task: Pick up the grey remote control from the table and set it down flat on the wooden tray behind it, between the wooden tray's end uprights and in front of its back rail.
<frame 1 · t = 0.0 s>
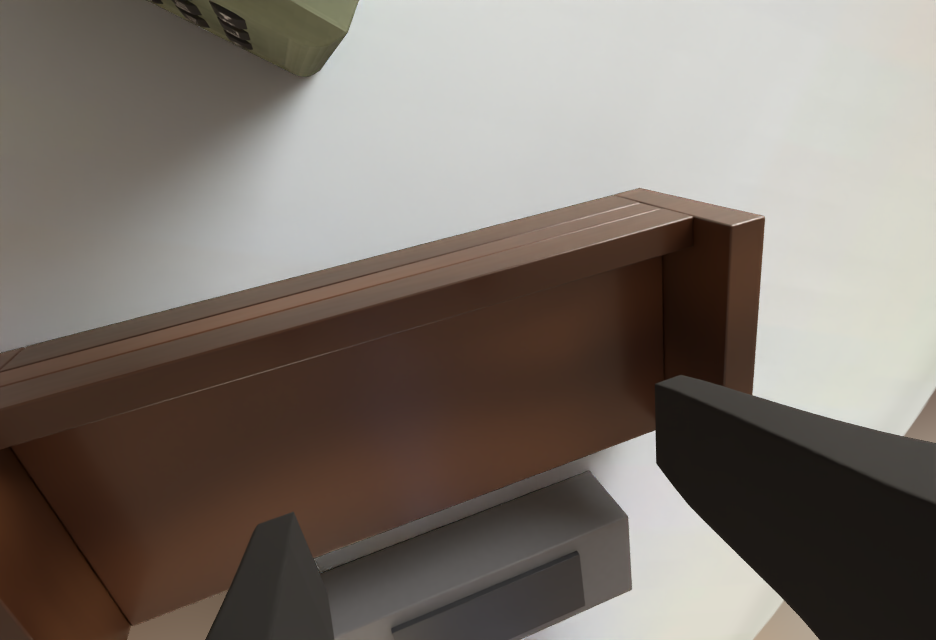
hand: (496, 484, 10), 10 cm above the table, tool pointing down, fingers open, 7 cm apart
remote: (439, 567, 24), on the table
wooden tray: (385, 373, 20), on the table
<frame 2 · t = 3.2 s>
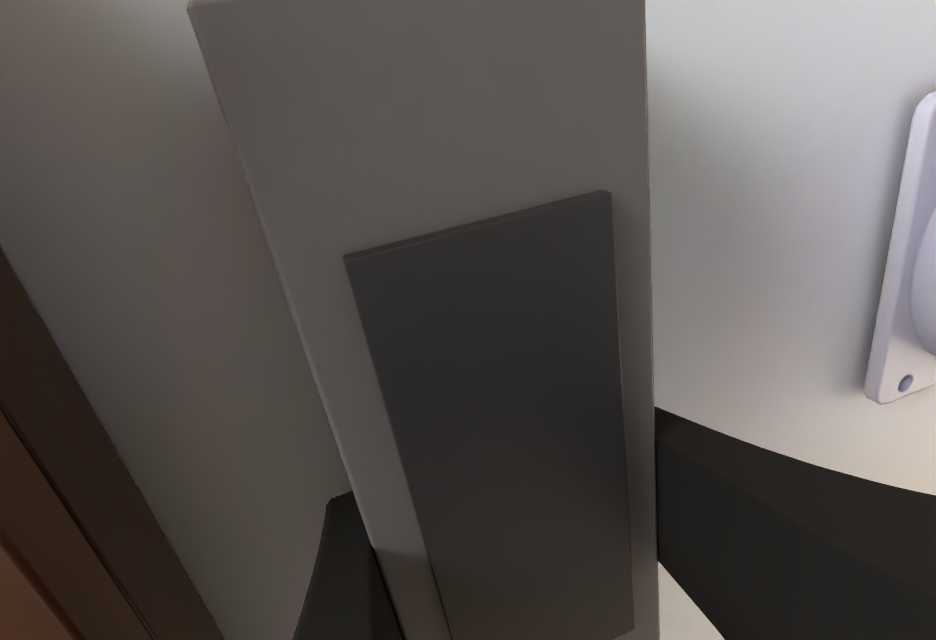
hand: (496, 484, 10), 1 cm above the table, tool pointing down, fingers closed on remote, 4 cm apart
remote: (471, 442, 11), on the table, touching gripper
when the fingers open (4 cm above the table, at t = 7.2 s): remote stays where it is, resting on wooden tray.
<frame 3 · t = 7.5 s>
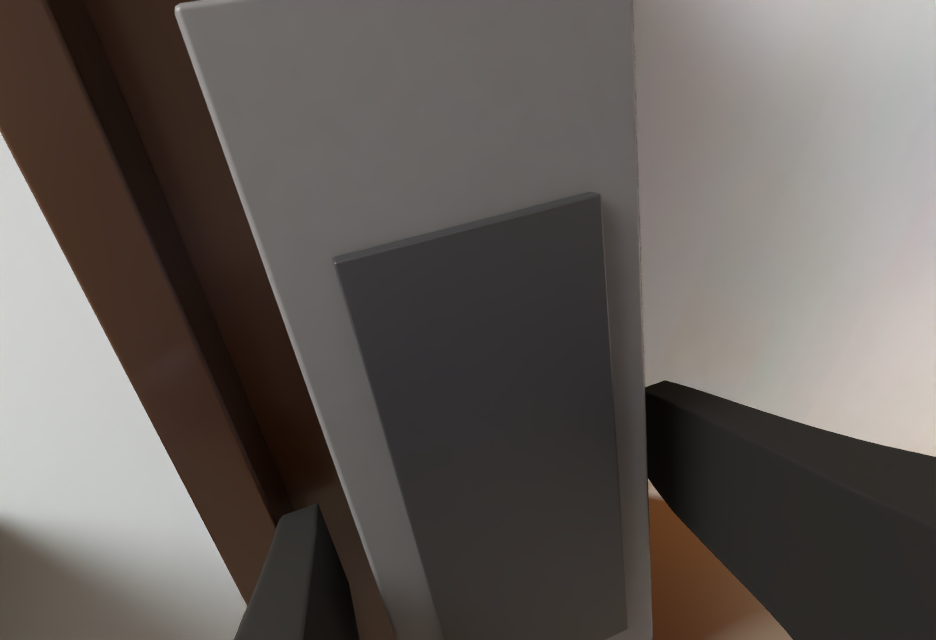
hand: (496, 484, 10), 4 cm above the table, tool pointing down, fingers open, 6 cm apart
remote: (465, 443, 11), point 3 cm above the table, touching wooden tray
wooden tray: (424, 381, 14), on the table
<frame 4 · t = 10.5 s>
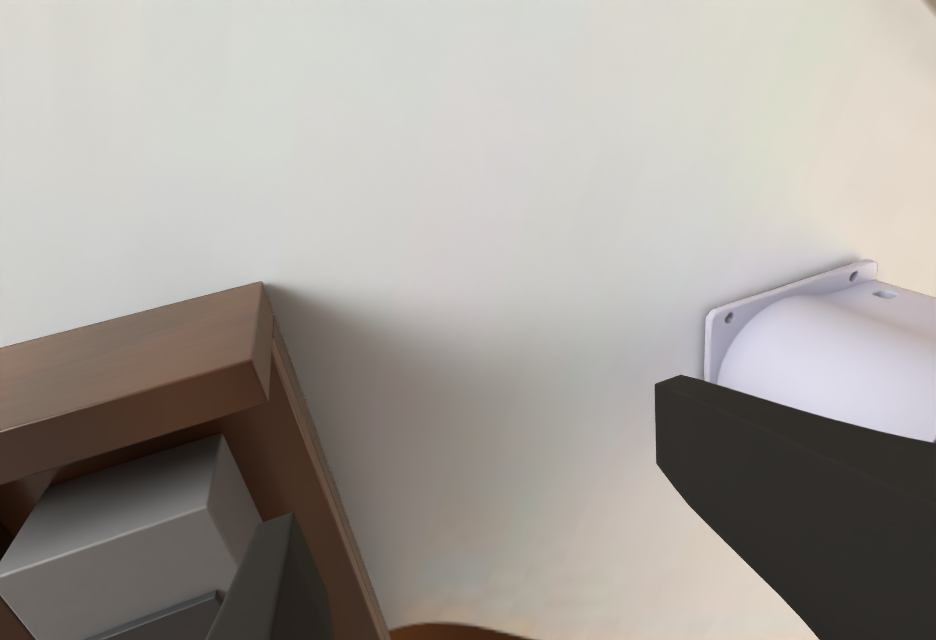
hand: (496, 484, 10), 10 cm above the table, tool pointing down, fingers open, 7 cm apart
wooden tray: (240, 573, 21), on the table
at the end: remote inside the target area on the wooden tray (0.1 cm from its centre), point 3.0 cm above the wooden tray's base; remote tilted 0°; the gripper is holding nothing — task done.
